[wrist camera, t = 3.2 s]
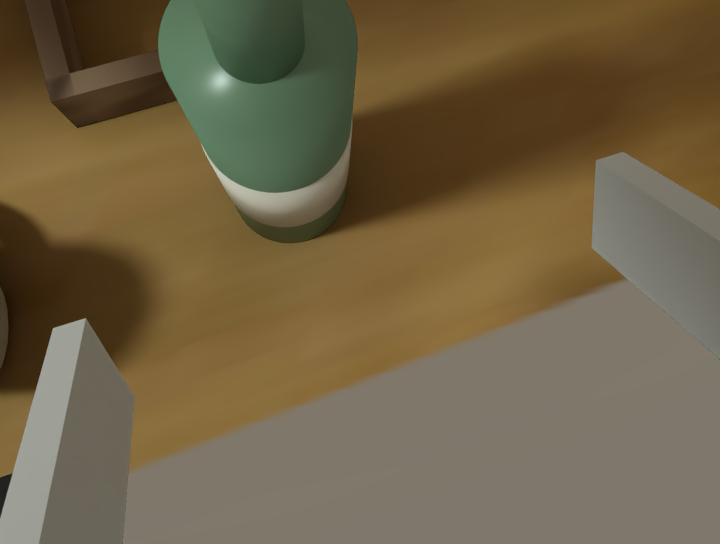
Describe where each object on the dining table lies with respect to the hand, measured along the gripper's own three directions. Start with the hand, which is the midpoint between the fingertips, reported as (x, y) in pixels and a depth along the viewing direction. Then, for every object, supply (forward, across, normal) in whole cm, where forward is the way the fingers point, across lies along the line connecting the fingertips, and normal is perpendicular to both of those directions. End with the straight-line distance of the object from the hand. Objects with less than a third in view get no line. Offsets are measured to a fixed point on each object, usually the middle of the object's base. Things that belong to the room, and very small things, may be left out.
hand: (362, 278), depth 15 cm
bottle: (+17, -1, -5) cm, 18 cm away
